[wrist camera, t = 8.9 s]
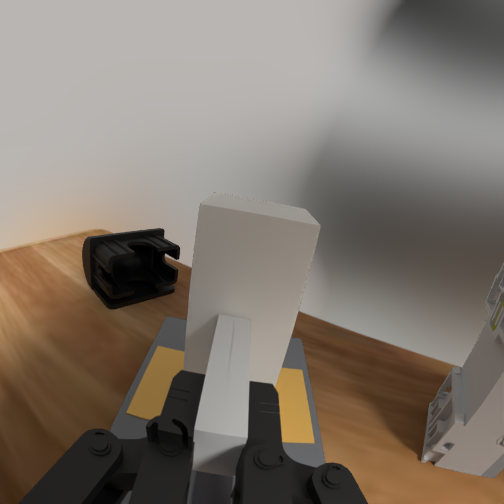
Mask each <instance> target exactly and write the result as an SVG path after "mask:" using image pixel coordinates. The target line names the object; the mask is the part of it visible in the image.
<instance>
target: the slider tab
mask: <svg viewBox="0 0 504 504" xmlns="http://www.w3.org/2000/svg"><path fill="white" fill-rule="evenodd" d="M319 231H320V224H319V223H318V222H317V221H316V220H315V219H314V218H313V217H312V216H311V214H310V213H309V212H308V211H307V210H306V209H302V208H298V207H293V206H287V205H282V204H277V203H271V202H267V201H261V200H255V199H250V198H244V197H239V196H233V195H226V194H221V193H213V194H212V195H211V196H209V197H208V198H207V199H206V200H204V201H203V202H202V203H200V207H199V215H198V222H197V230H196V238H195V246H194V255H193V263H192V272H191V281H190V291H189V302H188V313H187V325H186V338H185V353H184V369H183V370H185V371H190V372H195V373H200V374H205V375H206V371H207V366H208V362H209V357H210V353H211V348H212V344H213V339H214V335H215V330H216V326H217V321H218V317H219V314H220V315H226V316H231V317H237V318H243V319H250V320H251V345H250V377H249V381H255V382H263V383H272V384H273V385H274V387H275V386H276V383H277V380H278V377H279V374H280V370H281V367H282V364H283V361H284V358H285V355H286V351H287V348H288V345H289V342H290V338H291V335H292V332H293V328H294V325H295V321H296V318H297V315H298V311H299V307H300V304H301V300H302V296H303V293H304V289H305V286H306V282H307V278H308V275H309V271H310V267H311V263H312V259H313V255H314V251H315V247H316V243H317V239H318V235H319Z"/></svg>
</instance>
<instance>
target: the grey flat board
mask: <svg viewBox="0 0 504 504" xmlns="http://www.w3.org/2000/svg"><path fill="white" fill-rule="evenodd" d="M186 325H187V320H185V319H180V318H175V317H170V316H167V317H166V319H165V321H164V323H163V325H162V327H161V328H160V330H159V332H158V334H157V336H156V338H155V340H154V342H153V344H152V346H151V348H150V349H149V351H148V353H147V355H146V357H145V359H144V361H143V363H142V365H141V367H140V369H139V371H138V373H137V375H136V377H135V379H134V381H133V383H132V385H131V387H130V389H129V391H128V393H127V395H126V397H125V399H124V401H123V403H122V405H121V408H120V410H119V412H118V414H117V416H116V418H115V420H114V422H113V424H112V426H111V429H110V432H112V433H113V434H114V435H115V436H117V438H118V439H141V438H144V437H147V432H146V425H147V423H148V422H149V420H151V419H152V418H154V417H156V416H159V415H161V412H162V409H163V406H164V403H165V400H166V397H167V394H168V391H169V389H170V385H171V382H172V379H173V377H174V376H175V375H176V374H177V373H178V372H179V371H181V370H183V369H184V353H185V338H186ZM275 389H276V390H277V392H278V394H279V406H280V419H281V432H282V444H283V449H284V450H285V452H286V454H287V455H288V456H289V457H290V458H291V459H293V460H294V461H296V462H299V463H301V464H305V465H309V466H312V467H316V468H317V467H318V466H320V465H322V464H325V458H324V452H323V446H322V441H321V435H320V430H319V425H318V419H317V414H316V409H315V404H314V398H313V393H312V388H311V383H310V378H309V373H308V368H307V364H306V359H305V354H304V349H303V344H302V340H301V339H300V338H292V337H291V338H290V342H289V345H288V348H287V351H286V355H285V358H284V361H283V364H282V367H281V370H280V374H279V377H278V380H277V383H276V386H275ZM235 475H236V473H235ZM234 485H235V476H227V475H219V474H212V473H206V472H200V471H194V470H192V472H191V477H190V487H189V493H188V499H187V504H232V497H230V496H231V493H232V491H233V488H234ZM131 493H132V491H129V492H128V494H127V495H126V497H125V498H124V499H123V501H122V502H121V504H128V503H129V500H130V496H131Z"/></svg>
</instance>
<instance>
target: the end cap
mask: <svg viewBox="0 0 504 504" xmlns="http://www.w3.org/2000/svg"><path fill="white" fill-rule="evenodd" d="M165 253H166V254H168V255H169V256H171V257H173V258H174V259H176V260H177V259H179V256H180V247H179V246H178V245H176V244H174V243H172V242H170V241H168V240H167V239H165V238H164V229H161V228H157V229H148V230H140V231H131V232H124V233H115V234H107V235H99V236H91V237H88V238H86V239H85V241H84V244H83V250H82V260H83V267H84V272H85V276H86V279H87V281H88V284H89V285H90V287H91V289H92V290H94V292H95V293H96V295H97V296H98V297H99V298H100V300H101V301H102V302H103V303H104V304H105V305H106V307H107V308H109V309H117V308H121V307H125V306H128V305H132V304H135V303H139V302H143V301H146V300H150V299H153V298H157V297H160V296H164V295H167V294H171V293H173V292H174V290H175V287H174V286H173V285H172V284H174V283H175V282H176V281H177V278H178V269H177V268H175V267H173V266H172V265H170V264H169V263H167V262H166V261H165Z"/></svg>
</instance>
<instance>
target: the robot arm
mask: <svg viewBox="0 0 504 504" xmlns="http://www.w3.org/2000/svg"><path fill="white" fill-rule="evenodd" d="M250 345H251V320H250V319H243V318H237V317H231V316H226V315H220V314H219V317H218V321H217V326H216V330H215V335H214V339H213V344H212V348H211V353H210V357H209V362H208V366H207V371H206V375H205V374H200V373H195V372H190V371H185V370H181V371H179V372H178V373H177V374H176V375H175V376H174V377H173V379H172V382H171V385H170V389H169V391H168V394H167V397H166V400H165V403H164V406H163V409H162V412H161V415H159V416H156V417H154V418H152V419H151V420H149V422H148V423H147V425H146V432H147V437H144V438H141V439H118V438H117V436H115V435H114V434H113V433H112V432H110V431H107V430H105V429H92V430H88V431H87V432H85V433H84V434H83V435H82V436H81V437H80V438H79V439H78V440H77V441H76V442H75V443H74V444H73V445H72V446H71V447H70V449H69V450H68V451H67V452H66V453H65V454H64V455H63V456H62V457H61V458H60V459H59V460H58V461H57V463H56V464H55V465H54V466H53V467H52V468H51V469H50V470H49V471H48V472H47V473H46V474H45V475H44V477H43V478H42V479H41V480H40V481H39V482H38V483H37V484H36V485H35V486H34V487H33V488H32V489H31V490H30V492H29V493H28V494H27V495H26V496H25V497H24V498H23V499H22V500H21V501H20V502H19V503H18V504H121V502H122V501H123V499H124V498H125V497H126V495H127V494H128V492H129V491H132V493H131V496H130V500H129V503H128V504H187V499H188V493H189V487H190V477H191V472H192V470H194V471H200V472H206V473H212V474H219V475H227V476H235V485H234V488H233V491H232V493H231V496H230V497H232V504H368V503H367V501H366V499H365V497H364V495H363V494H362V492H361V490H360V488H359V486H358V484H357V483H356V481H355V479H354V477H353V475H352V473H351V472H350V471H349V470H348V469H347V468H346V467H344V466H343V465H341V464H337V463H325V464H322V465H320V466H318V467H317V468H316V467H312V466H309V465H305V464H301V463H299V462H296V461H294V460H293V459H291V458H290V457H289V456H288V455H287V454H286V452H285V450H284V449H283V444H282V432H281V419H280V406H279V394H278V392H277V390H276V389H275V387H274V385H273V384H272V383H263V382H255V381H249V377H250ZM235 473H236V475H235Z"/></svg>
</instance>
